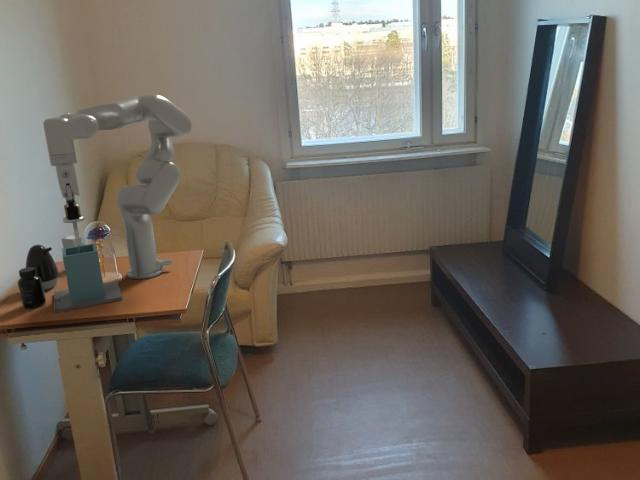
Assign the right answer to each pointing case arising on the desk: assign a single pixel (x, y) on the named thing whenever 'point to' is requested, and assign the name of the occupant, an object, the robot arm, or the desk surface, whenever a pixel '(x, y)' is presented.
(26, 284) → the supplement bottle
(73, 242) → the skincare box
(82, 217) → the plunger
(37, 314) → the desk surface
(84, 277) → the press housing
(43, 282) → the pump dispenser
